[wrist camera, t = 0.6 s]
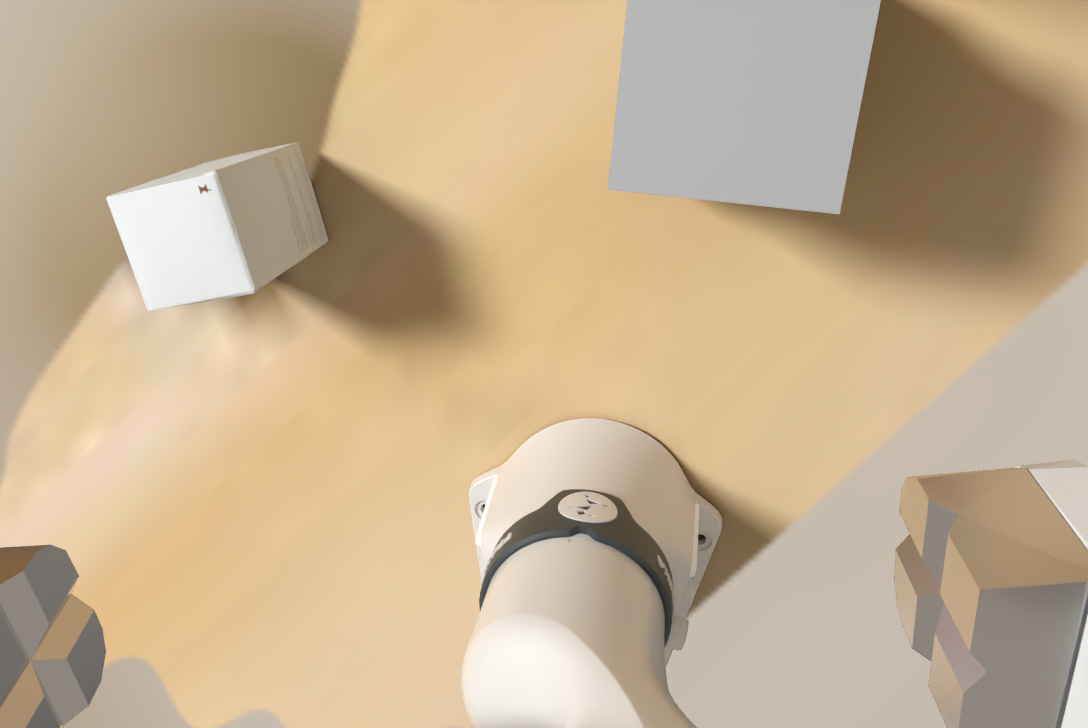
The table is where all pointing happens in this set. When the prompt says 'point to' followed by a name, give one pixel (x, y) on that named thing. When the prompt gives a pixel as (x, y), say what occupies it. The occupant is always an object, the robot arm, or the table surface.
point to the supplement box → (219, 226)
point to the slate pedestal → (741, 99)
